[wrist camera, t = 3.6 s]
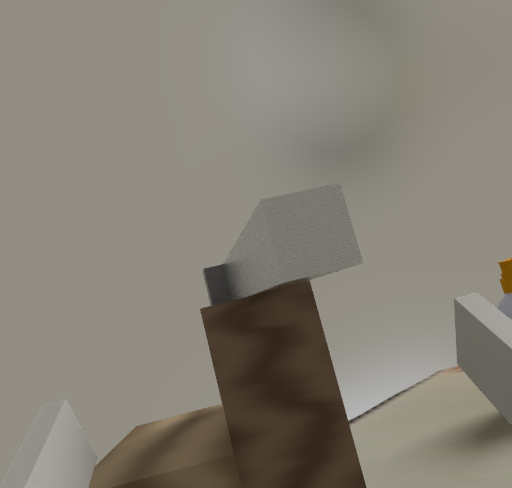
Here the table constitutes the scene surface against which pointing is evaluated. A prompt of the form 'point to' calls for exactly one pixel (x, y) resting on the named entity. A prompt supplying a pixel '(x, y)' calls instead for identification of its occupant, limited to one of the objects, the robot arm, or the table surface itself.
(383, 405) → the table surface
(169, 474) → the walnut step stand
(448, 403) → the table surface
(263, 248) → the steel bar
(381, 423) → the table surface
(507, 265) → the soap bottle
